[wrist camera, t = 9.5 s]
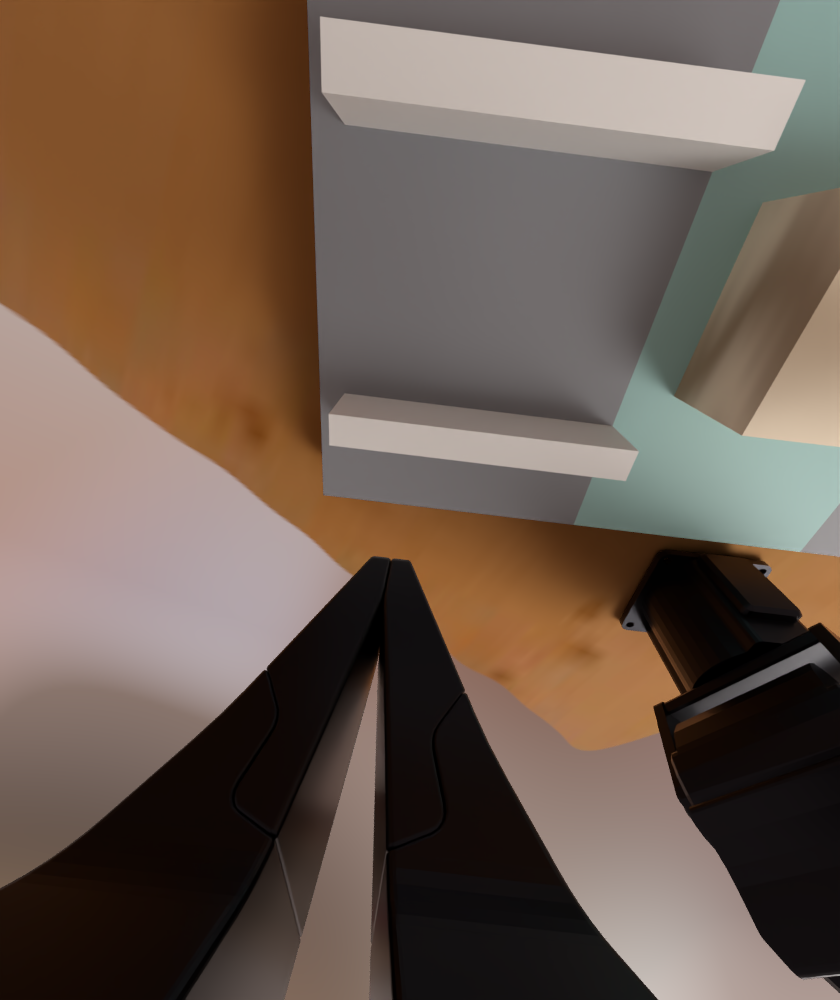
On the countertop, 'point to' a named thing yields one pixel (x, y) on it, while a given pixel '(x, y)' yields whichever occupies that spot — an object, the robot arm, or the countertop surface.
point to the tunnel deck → (559, 253)
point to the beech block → (777, 329)
